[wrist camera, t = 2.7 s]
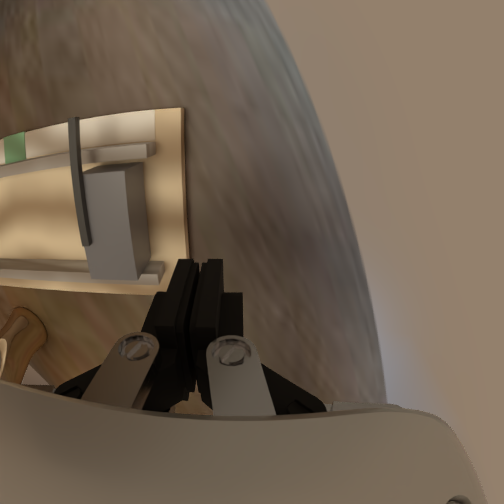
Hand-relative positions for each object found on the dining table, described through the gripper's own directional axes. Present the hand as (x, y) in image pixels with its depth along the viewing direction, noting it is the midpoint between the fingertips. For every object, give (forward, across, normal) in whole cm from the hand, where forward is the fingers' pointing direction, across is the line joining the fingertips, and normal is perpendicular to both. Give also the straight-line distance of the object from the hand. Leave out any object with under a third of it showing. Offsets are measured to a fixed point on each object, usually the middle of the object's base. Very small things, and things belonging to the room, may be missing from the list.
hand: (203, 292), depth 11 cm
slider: (+13, +8, -1) cm, 15 cm away
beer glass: (+14, +26, +16) cm, 34 cm away
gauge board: (+14, +16, +1) cm, 21 cm away
